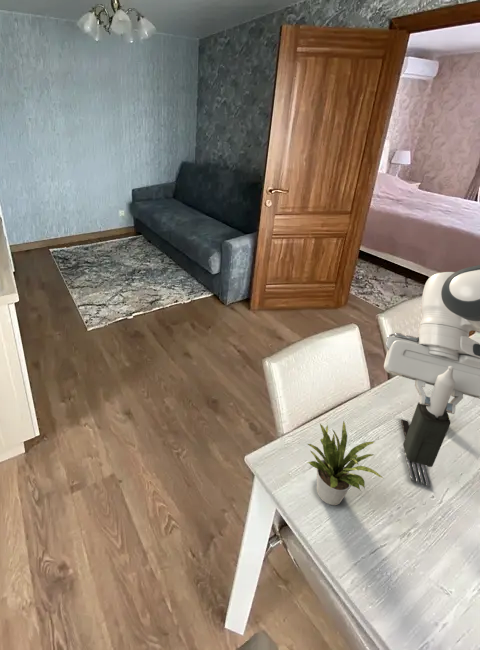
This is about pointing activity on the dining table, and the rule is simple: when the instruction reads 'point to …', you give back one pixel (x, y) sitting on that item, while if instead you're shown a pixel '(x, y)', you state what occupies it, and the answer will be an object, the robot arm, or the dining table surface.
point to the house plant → (338, 467)
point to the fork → (405, 430)
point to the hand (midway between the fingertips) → (436, 409)
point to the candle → (430, 423)
